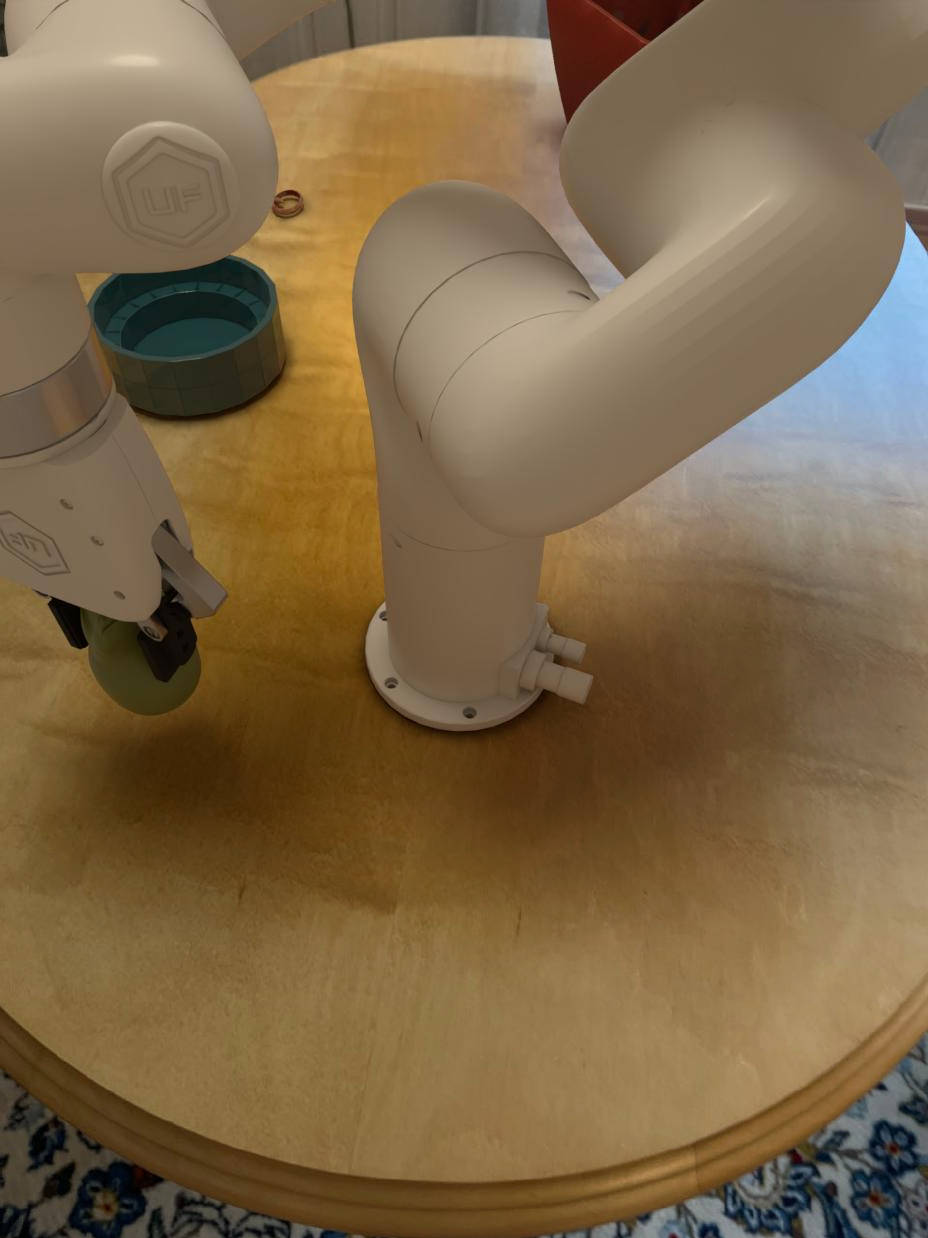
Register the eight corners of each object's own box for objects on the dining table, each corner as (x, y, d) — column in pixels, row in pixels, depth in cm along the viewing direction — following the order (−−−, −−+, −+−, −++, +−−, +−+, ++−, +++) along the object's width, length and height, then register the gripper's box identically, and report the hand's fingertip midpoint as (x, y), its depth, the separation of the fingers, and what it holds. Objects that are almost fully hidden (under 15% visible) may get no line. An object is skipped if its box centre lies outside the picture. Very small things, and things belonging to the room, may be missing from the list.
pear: (177, 638, 59) (126, 528, 51) (229, 689, 57) (185, 583, 49) (98, 694, 57) (32, 589, 49) (150, 750, 54) (90, 649, 46)
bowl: (317, 336, 86) (310, 276, 82) (226, 442, 78) (212, 381, 73) (172, 293, 90) (157, 234, 85) (69, 390, 81) (46, 329, 77)
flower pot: (621, 220, 99) (649, 42, 86) (528, 137, 109) (540, -34, 96) (770, 178, 105) (818, 5, 91) (668, 103, 115) (698, -63, 102)
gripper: (-226, 378, 38) (-35, 646, 53) (132, 500, 34) (233, 754, 49) (-91, 276, 43) (52, 550, 57) (243, 374, 38) (305, 643, 53)
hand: (134, 642), depth 53 cm, fingers closed on pear, 4 cm apart
